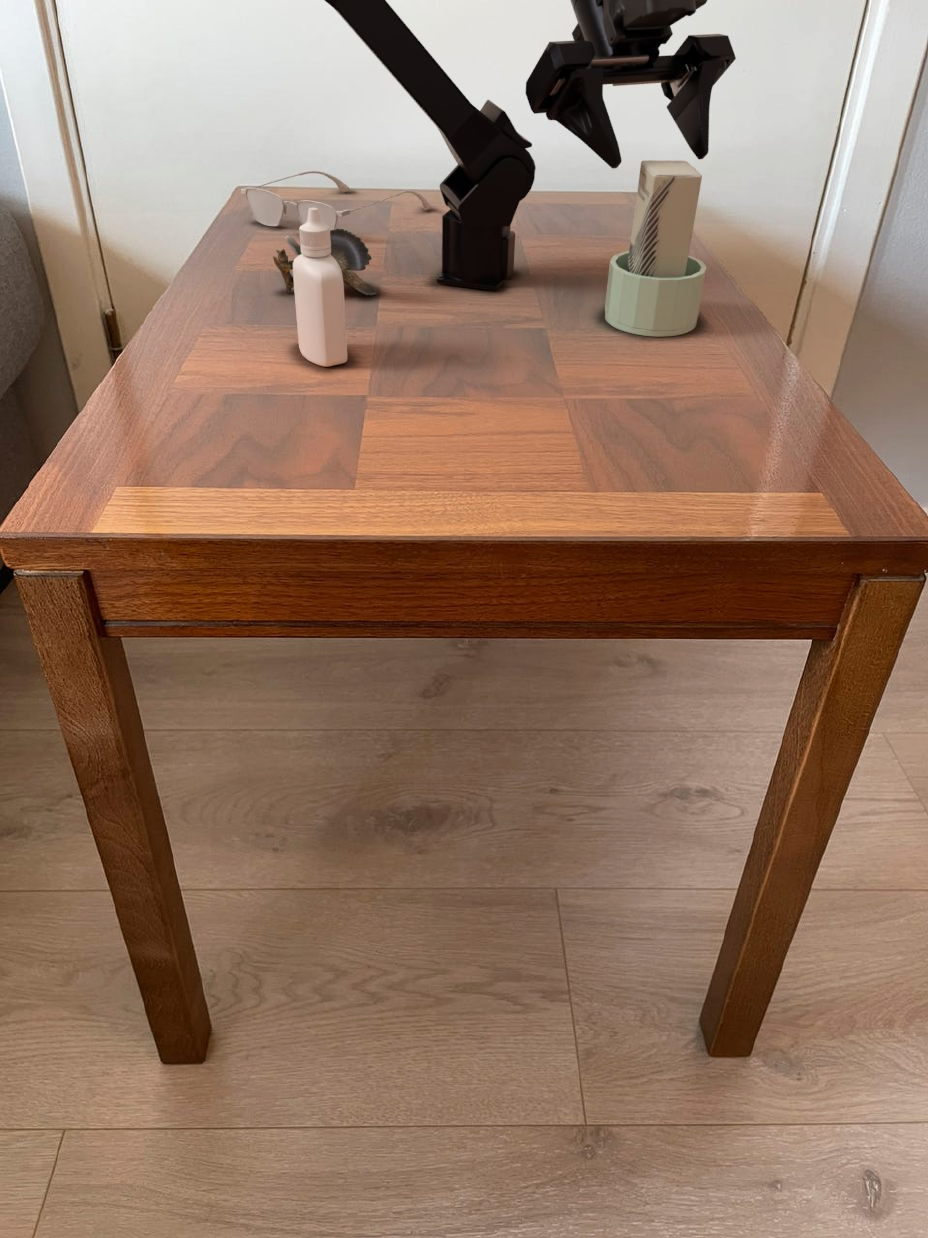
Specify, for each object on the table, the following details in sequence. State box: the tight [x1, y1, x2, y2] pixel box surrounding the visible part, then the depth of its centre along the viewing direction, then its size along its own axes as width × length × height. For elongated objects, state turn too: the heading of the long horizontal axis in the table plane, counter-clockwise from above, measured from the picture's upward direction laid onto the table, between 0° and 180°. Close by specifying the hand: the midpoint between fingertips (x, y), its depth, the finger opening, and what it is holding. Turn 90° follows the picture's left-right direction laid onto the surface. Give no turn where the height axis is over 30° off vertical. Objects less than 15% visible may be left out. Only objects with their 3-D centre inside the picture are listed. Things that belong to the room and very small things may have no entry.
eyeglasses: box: [240, 170, 432, 230], centre depth 116 cm, size 15×18×4 cm
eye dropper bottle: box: [292, 208, 349, 368], centre depth 80 cm, size 4×6×12 cm
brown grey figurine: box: [272, 228, 378, 296], centre depth 94 cm, size 8×7×9 cm
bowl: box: [604, 250, 708, 338], centre depth 90 cm, size 9×9×5 cm
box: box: [627, 160, 703, 278], centre depth 88 cm, size 5×4×13 cm
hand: (661, 160), depth 85 cm, fingers open, 9 cm apart
